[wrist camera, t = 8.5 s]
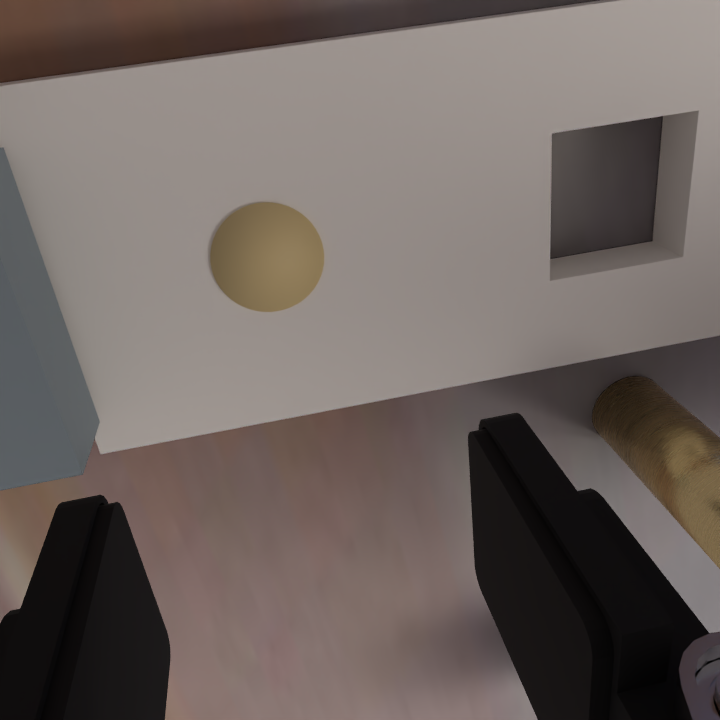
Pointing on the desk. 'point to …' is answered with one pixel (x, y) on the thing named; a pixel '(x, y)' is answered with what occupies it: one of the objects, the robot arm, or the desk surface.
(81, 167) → the board
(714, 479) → the pin
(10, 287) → the housing
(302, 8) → the desk surface
